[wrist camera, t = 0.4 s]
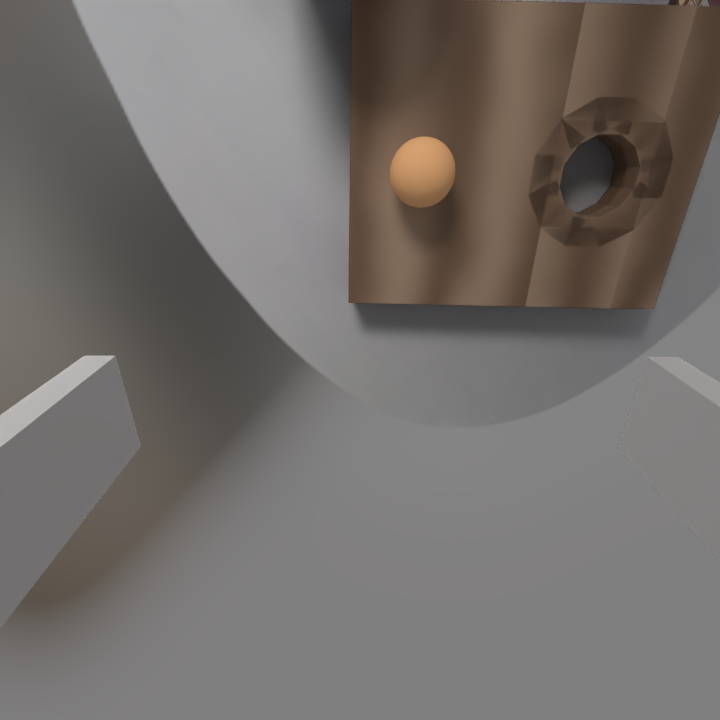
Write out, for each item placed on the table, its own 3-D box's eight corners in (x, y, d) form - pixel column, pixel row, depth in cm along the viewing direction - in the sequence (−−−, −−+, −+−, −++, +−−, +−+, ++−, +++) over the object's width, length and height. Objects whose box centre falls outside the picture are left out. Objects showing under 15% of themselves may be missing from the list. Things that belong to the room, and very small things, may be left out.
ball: (389, 137, 27) (393, 133, 23) (452, 139, 27) (466, 135, 23) (386, 204, 28) (390, 210, 25) (445, 205, 28) (457, 211, 25)
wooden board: (349, 291, 34) (348, 302, 31) (352, 14, 26) (351, -4, 24) (630, 297, 34) (653, 309, 31) (714, 23, 26) (755, 7, 24)
